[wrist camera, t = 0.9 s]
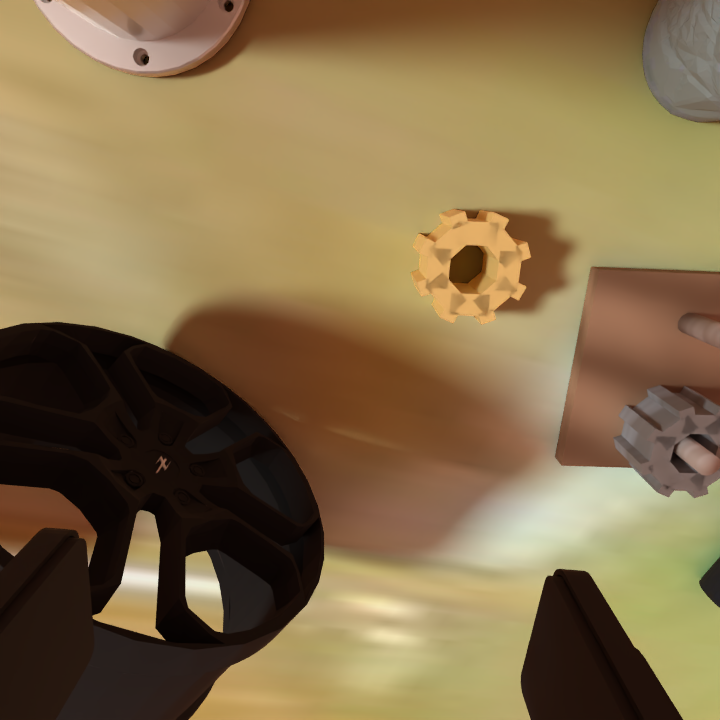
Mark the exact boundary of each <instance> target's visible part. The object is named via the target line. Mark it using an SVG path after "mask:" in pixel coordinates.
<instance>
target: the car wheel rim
mask: <svg viewBox="0 0 720 720" xmlns="http://www.w3.org/2000/svg"><path fill="white" fill-rule="evenodd" d="M53 447H54V448H53ZM60 448H61V449H60ZM67 449H68V450H67ZM0 484H5V485H17V486H28V487H39V488H50V489H53V490H55V491H58V492H60V493H61V494H62V495H64V496H65V497H66V498H67V499H68V500H69V501H70V502H72V503H73V504H74V505H75V506H76V507H77V508H79V509H80V511H81V512H82V513H83V515H84V516H85V517H86V519H87V520H88V521H89V523H90V524H91V526H92V527H93V528H94V530H95V531H96V532H97V540H96V543H95V547H94V550H93V554H92V557H91V561H90V564H89V568H88V570H89V581H90V593H91V605H92V615H95V614H98V613H100V612H101V611H102V610H103V608H104V607H105V605H106V604H107V602H108V601H109V600H110V598H111V597H112V595H113V594H114V593H115V591H116V590H117V588H118V587H119V585H120V584H121V580H122V576H123V572H124V567H125V563H126V558H127V554H128V549H129V545H130V540H131V536H132V531H133V527H134V522H135V518H136V513H137V512H139V511H140V510H144V511H148V512H151V513H152V514H154V515H155V519H156V524H157V528H158V533H159V537H160V542H161V547H160V563H159V579H158V595H157V611H156V627H155V628H156V629H157V630H158V632H159V633H160V634H161V635H162V636H163V638H164V639H165V640H166V641H165V640H162V639H158V638H154V637H151V636H147V635H144V634H140V633H137V632H133V631H130V630H126V629H123V628H119V627H116V626H112V625H108V624H105V623H101V622H98V621H96V620H94V619H93V629H94V650H93V654H92V657H91V659H90V662H89V664H88V665H87V667H86V669H85V671H84V672H83V674H82V676H81V677H80V679H79V681H78V682H77V684H76V686H75V688H74V689H73V691H72V693H71V694H70V696H69V698H68V700H67V701H66V703H65V705H64V706H63V708H62V710H61V712H60V713H59V715H58V717H57V718H56V720H188V719H189V718H190V717H191V716H192V715H193V714H194V713H195V712H196V710H197V709H198V708H199V706H200V705H201V704H202V702H203V701H204V700H205V698H206V697H207V695H208V693H209V692H210V690H211V688H212V686H213V684H214V682H215V681H216V680H217V679H218V678H219V677H220V676H221V675H222V674H223V673H224V672H225V671H226V670H227V669H228V668H229V667H230V666H231V665H233V664H236V663H238V662H240V661H242V660H244V659H246V658H248V657H250V656H251V655H253V654H255V653H256V652H258V651H259V650H260V649H262V648H263V647H265V646H266V645H267V644H268V643H269V642H270V641H271V640H273V639H274V638H275V637H276V636H277V635H278V634H279V633H280V631H281V630H282V629H283V628H284V627H285V626H286V625H287V624H288V623H289V622H290V621H291V620H292V619H293V618H294V617H295V616H296V615H297V614H298V613H299V612H300V611H301V610H302V609H303V608H304V607H305V606H306V605H307V603H308V601H309V600H310V598H311V596H312V594H313V592H314V590H315V588H316V586H317V584H318V582H319V579H320V575H321V570H322V566H323V561H324V531H323V527H322V522H321V518H320V514H319V509H318V505H317V503H316V500H315V498H314V495H313V493H312V490H311V488H310V485H309V483H308V481H307V479H306V477H305V475H304V474H303V472H302V470H301V469H300V467H299V465H298V463H297V462H296V460H295V458H294V457H293V455H292V454H291V452H290V451H289V450H288V448H287V447H286V446H285V444H284V443H283V442H282V440H281V439H280V438H279V436H278V435H277V434H276V433H275V432H274V431H273V430H272V428H271V427H270V426H269V425H268V424H267V423H266V422H265V421H264V419H263V418H262V417H260V416H259V415H258V414H257V413H256V412H255V411H254V410H253V409H252V408H251V407H250V406H249V405H248V404H247V403H246V402H245V401H244V400H242V399H241V398H240V397H239V396H237V395H236V394H235V393H234V392H232V391H231V390H230V389H229V388H227V387H226V386H225V385H224V384H222V383H221V382H219V381H218V380H216V379H215V378H213V377H212V376H210V375H209V374H207V373H206V372H204V371H203V370H202V369H200V368H198V367H196V366H195V365H193V364H191V363H189V362H188V361H186V360H184V359H182V358H180V357H179V356H177V355H175V354H173V353H171V352H169V351H166V350H164V349H162V348H160V347H158V346H155V345H153V344H150V343H148V342H145V341H143V340H140V339H137V338H135V337H132V336H129V335H125V334H121V333H118V332H114V331H110V330H106V329H103V328H99V327H95V326H86V325H78V324H70V323H62V322H52V323H25V324H20V325H16V326H12V327H8V328H4V329H0ZM206 550H207V552H208V554H209V556H210V558H211V560H212V563H213V566H214V569H215V572H216V575H217V578H218V581H219V584H220V590H221V596H222V603H223V609H224V617H223V633H221V632H216V631H214V630H213V629H212V628H210V627H209V626H208V625H207V624H206V623H205V622H204V621H202V620H201V619H200V618H199V617H198V616H197V615H196V614H195V613H193V612H192V611H191V610H190V609H189V608H188V605H187V601H186V597H185V557H186V556H188V555H190V554H192V553H196V552H201V551H206ZM13 558H14V556H13V555H11V554H10V553H9V552H7V551H6V550H5V549H4V548H2V546H1V545H0V571H1V570H2V569H3V568H4V567H5V566H6V565H7V564H8V563H9V562H10V561H11V560H12V559H13Z"/></svg>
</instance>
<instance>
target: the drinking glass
mask: <svg viewBox="0 0 720 720" xmlns="http://www.w3.org/2000/svg"><path fill="white" fill-rule="evenodd" d="M642 55H643V68H644V74H645V77H646V80H647V83H648V86H649V88H650V90H651V92H652V94H653V95H654V97H655V98H656V99H657V101H658V102H659V103H660V104H661V105H662V106H663V107H664V108H665V109H666V110H667V111H669V112H670V113H671V114H673V115H676V116H679V117H682V118H684V119H687V120H691V121H696V122H712V121H720V0H659V1H658V3H657V4H656V6H655V8H654V10H653V12H652V15H651V17H650V20H649V23H648V25H647V28H646V32H645V37H644V43H643V54H642Z"/></svg>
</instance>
